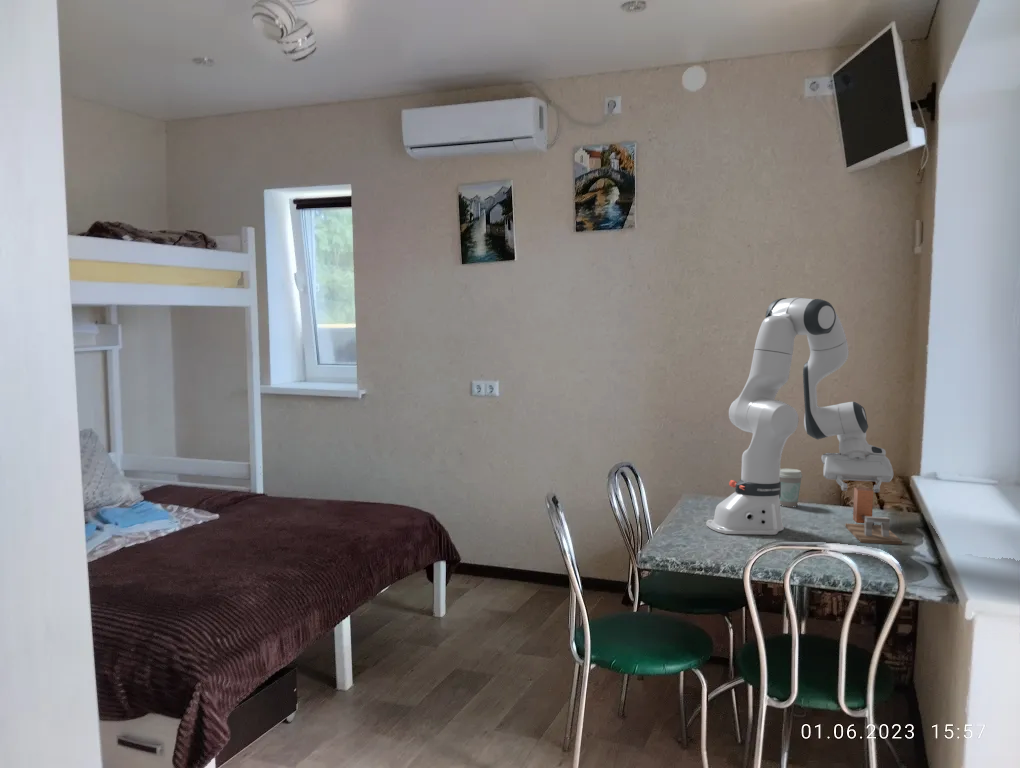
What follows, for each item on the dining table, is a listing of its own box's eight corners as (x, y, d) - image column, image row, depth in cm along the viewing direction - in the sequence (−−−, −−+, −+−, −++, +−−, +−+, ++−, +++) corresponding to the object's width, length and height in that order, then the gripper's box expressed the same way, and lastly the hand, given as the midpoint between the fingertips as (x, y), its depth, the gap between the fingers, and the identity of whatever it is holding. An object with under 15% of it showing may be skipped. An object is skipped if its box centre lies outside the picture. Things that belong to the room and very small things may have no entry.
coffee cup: (772, 506, 275) (773, 471, 274) (777, 501, 282) (778, 467, 282) (799, 509, 271) (800, 473, 270) (803, 504, 278) (804, 469, 278)
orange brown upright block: (852, 519, 253) (854, 487, 252) (868, 520, 252) (869, 488, 251) (863, 529, 241) (864, 495, 240) (879, 530, 240) (880, 496, 239)
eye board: (845, 526, 248) (846, 506, 248) (883, 528, 246) (884, 508, 246) (860, 542, 231) (861, 520, 230) (902, 544, 229) (903, 522, 228)
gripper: (822, 446, 261) (827, 482, 252) (890, 449, 257) (898, 486, 248) (818, 458, 265) (823, 494, 257) (886, 461, 262) (893, 497, 253)
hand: (860, 490), depth 252 cm, fingers open, 8 cm apart
